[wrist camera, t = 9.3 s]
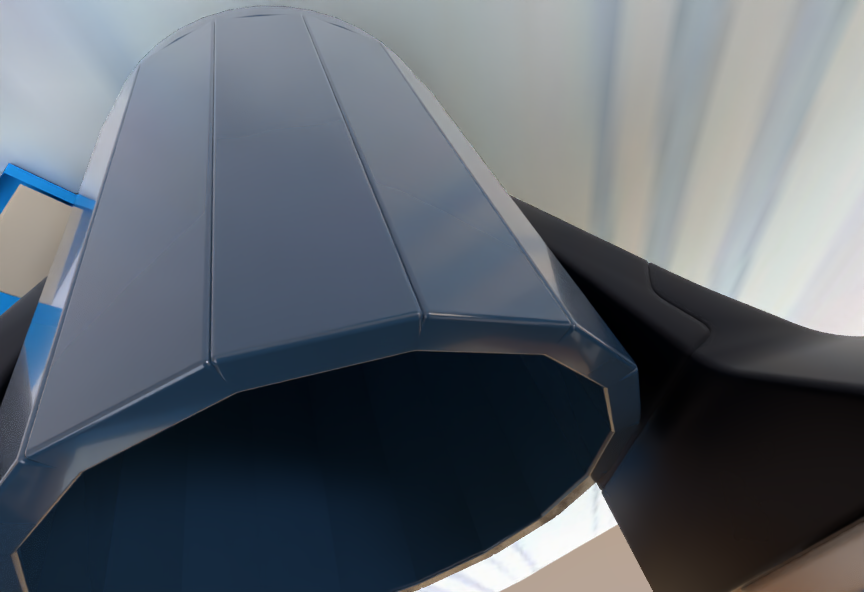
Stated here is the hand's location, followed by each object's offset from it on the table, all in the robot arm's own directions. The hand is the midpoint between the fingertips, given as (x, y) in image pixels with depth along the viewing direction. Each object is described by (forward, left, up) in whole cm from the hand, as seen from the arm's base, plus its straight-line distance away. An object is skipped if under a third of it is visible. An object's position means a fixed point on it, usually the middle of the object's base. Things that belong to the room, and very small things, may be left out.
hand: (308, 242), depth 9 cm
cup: (0, 0, -2) cm, 2 cm away
